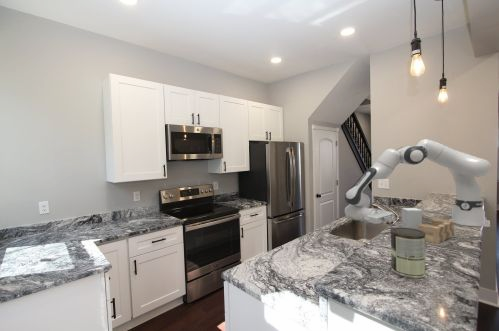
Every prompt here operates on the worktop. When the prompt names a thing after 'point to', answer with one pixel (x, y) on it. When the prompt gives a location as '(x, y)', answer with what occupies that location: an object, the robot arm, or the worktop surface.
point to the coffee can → (408, 252)
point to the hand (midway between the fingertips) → (394, 219)
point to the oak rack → (437, 230)
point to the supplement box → (411, 218)
